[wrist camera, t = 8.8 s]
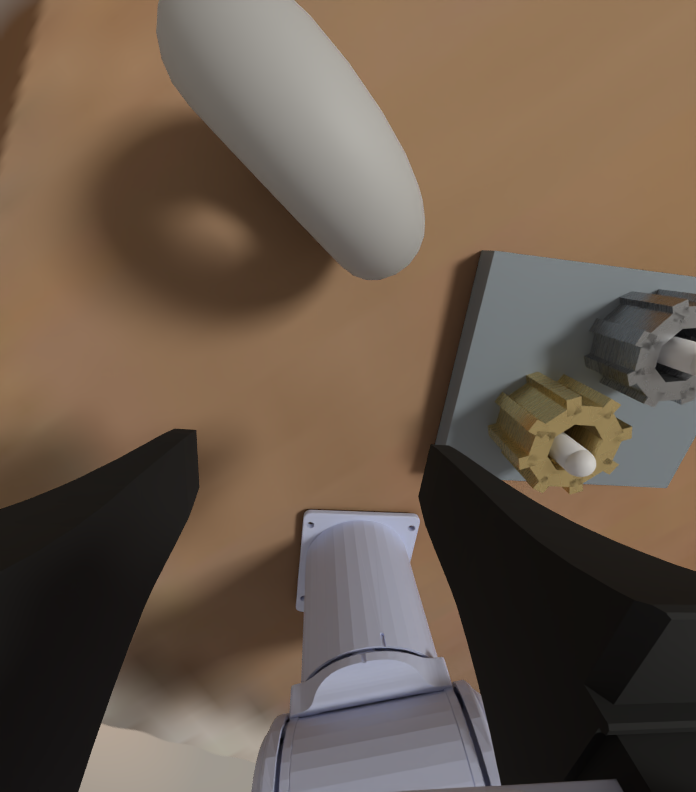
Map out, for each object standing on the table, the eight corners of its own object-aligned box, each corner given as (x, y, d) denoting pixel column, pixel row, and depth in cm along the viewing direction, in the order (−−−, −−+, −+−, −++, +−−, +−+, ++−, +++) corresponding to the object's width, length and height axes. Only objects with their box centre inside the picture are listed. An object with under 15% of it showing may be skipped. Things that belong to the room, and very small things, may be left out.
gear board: (647, 474, 25) (744, 541, 20) (430, 462, 23) (467, 533, 18) (746, 284, 20) (914, 300, 15) (481, 250, 18) (555, 252, 13)
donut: (197, 116, 15) (18, -75, 6) (248, 45, 15) (132, -296, 5) (358, 286, 19) (397, 326, 9) (407, 235, 18) (502, 224, 9)
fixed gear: (664, 380, 21) (717, 401, 18) (576, 388, 20) (617, 410, 18) (693, 286, 18) (759, 293, 16) (596, 293, 18) (646, 302, 15)
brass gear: (562, 459, 22) (604, 495, 19) (478, 454, 22) (507, 491, 18) (596, 376, 20) (649, 401, 17) (504, 368, 19) (541, 392, 16)
